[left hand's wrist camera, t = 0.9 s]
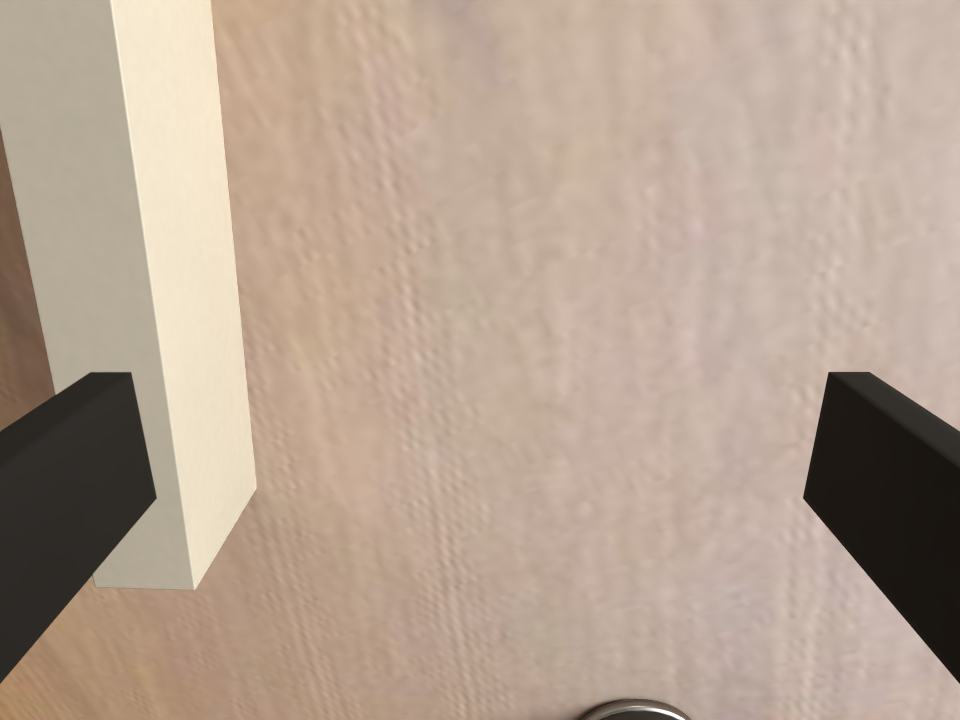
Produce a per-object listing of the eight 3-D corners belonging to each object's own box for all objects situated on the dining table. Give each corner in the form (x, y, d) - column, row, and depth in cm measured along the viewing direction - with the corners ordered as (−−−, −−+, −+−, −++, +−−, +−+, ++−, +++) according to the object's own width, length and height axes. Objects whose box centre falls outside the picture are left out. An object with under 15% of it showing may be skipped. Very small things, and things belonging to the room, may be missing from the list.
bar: (105, -27, 28) (-46, -85, 20) (209, -22, 28) (100, -79, 20) (178, 485, 37) (94, 588, 29) (257, 488, 37) (195, 590, 29)
